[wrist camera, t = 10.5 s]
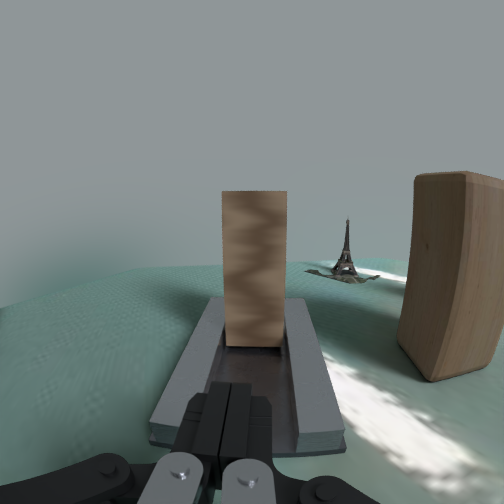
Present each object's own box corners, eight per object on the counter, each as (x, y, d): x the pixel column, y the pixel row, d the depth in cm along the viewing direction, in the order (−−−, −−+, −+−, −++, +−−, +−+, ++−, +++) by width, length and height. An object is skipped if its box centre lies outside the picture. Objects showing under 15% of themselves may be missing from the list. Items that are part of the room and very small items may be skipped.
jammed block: (226, 345, 29) (221, 191, 25) (232, 321, 35) (229, 191, 31) (282, 346, 29) (286, 191, 25) (280, 322, 34) (282, 191, 31)
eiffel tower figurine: (302, 273, 62) (304, 213, 59) (327, 265, 68) (330, 211, 65) (361, 289, 51) (367, 219, 48) (381, 278, 57) (386, 217, 54)
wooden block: (392, 340, 30) (410, 173, 26) (451, 332, 30) (471, 183, 25) (426, 387, 20) (465, 168, 16) (490, 368, 20) (526, 185, 16)
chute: (150, 444, 16) (141, 419, 15) (208, 315, 39) (207, 296, 38) (344, 452, 15) (353, 428, 14) (306, 317, 38) (308, 298, 38)
